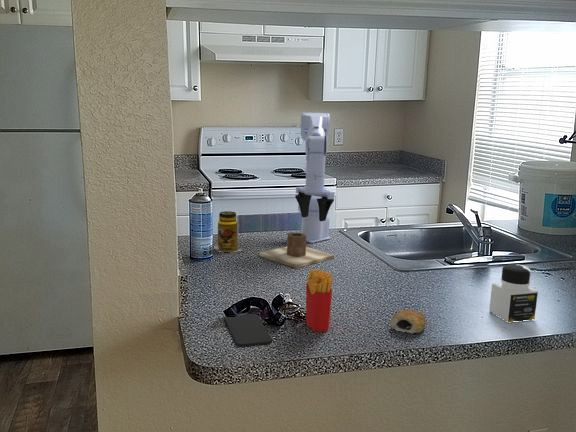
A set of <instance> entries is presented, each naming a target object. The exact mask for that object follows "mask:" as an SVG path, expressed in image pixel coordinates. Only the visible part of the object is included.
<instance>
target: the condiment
mask: <svg viewBox="0 0 576 432" xmlns="http://www.w3.org/2000/svg"><path fill="white" fill-rule="evenodd" d="M218 217H219V218H218V219H219V220H218V222H217V245H215V246H214V248H213V249H214V250H215V251H217V249H218V248H219V249H218V250H219V251H221V252H230V253H229V254H231V253H237V252H243V251H244V250H242V249H241V248H239V247H238V220H237V213H236V212H235V211H230V210H229V211H220V212H219V215H218Z"/></svg>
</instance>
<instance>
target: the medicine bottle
mask: <svg viewBox="0 0 576 432" xmlns="http://www.w3.org/2000/svg"><path fill="white" fill-rule="evenodd" d="M501 269H502V271H501V278H500V282H494V283H491V292H490V301H489V309H488V311H491V312H492V313H494V314H495V315H497V316H499V317H501V318H502V319H504V320H506V321H508V322H513V321H523V320H532V319H534V320H535V317H536V311H537V309H536V308H537V304H538V294H539V293H538V292H539V291H538V290H536V289H534V288H532V287H530V285H531V276H532V269H530V268H529V267H527V266H526V265H522V264H517V263H510V264H509V263H508V264H506V265H504V266H502V268H501ZM492 313H491V314H492ZM494 314H493V315H494ZM495 315H494V316H495ZM497 316H496V317H497ZM499 317H498V318H499ZM502 319H501V320H502ZM504 320H503V321H504Z"/></svg>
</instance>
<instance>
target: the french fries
mask: <svg viewBox="0 0 576 432" xmlns="http://www.w3.org/2000/svg"><path fill="white" fill-rule="evenodd" d="M333 279H334V278H333V277H332V273H330V272H329V271H327V272H326V271H323V270H322V269H321V270H320V269H318V268H317V269H315V268H313V269H311V270H310V271H309V273H308V276H307V277H306V283H305V286H306V287H305V292H306V293H305V294H306V296H305V307H306V308H305V323H306V325H308V327H309V328H310V329H311V330H313V331H315V332H326V331H329V330H330V322H331V311H332V310H331V309H332V300H333V299H332V297H333V289H332V287H333V286H332V285H333Z"/></svg>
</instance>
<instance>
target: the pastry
mask: <svg viewBox="0 0 576 432" xmlns="http://www.w3.org/2000/svg"><path fill="white" fill-rule="evenodd" d="M389 326H390V328H391V329H392V330H393V329H395V330H398V331H402V332H401V333H405V332H407V333H406V334H409V333H411V335H414V333H418V334H419V333H420V334H421V333H422V331H423V330H424V329H425V326H426V317H425V315H424V314H423V312H420V311H417V310H415V309H407V310H405V309H404V310H399V311H397V313H395V314H393V316H392V319H391V322H390V323H389ZM395 330H394V331H395ZM398 331H397V332H398Z"/></svg>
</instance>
